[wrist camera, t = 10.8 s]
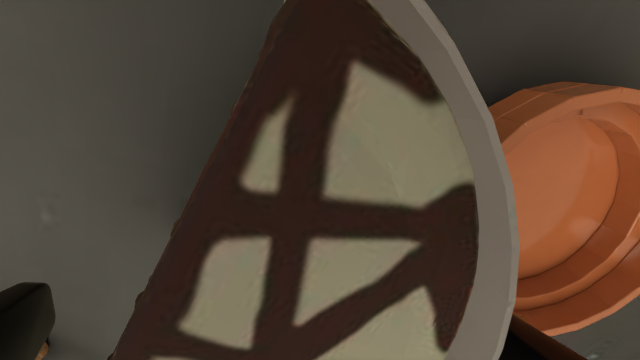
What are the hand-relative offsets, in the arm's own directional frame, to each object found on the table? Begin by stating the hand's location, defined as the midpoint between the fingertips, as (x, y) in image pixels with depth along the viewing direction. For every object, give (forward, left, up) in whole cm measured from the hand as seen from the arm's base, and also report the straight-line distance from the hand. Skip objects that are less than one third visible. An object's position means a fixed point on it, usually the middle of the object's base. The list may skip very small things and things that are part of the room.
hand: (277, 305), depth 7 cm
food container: (0, 0, -8) cm, 8 cm away
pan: (-12, 0, -8) cm, 14 cm away
